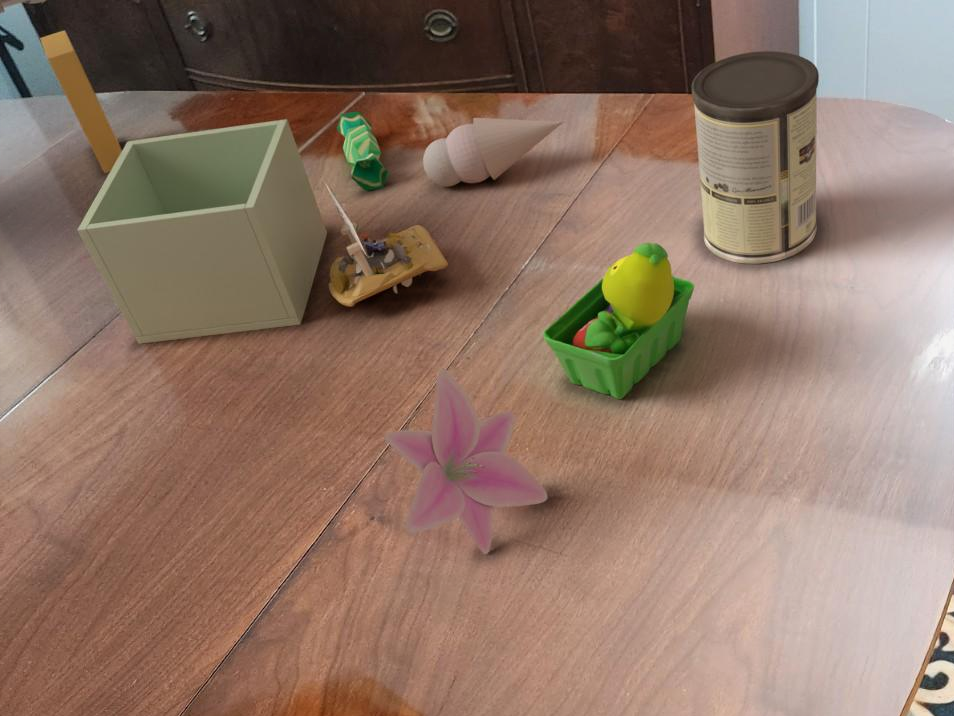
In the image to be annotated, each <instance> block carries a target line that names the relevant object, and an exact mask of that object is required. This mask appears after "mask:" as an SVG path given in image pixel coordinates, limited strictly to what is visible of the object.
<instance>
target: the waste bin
mask: <svg viewBox="0 0 954 716" xmlns="http://www.w3.org/2000/svg"><path fill="white" fill-rule="evenodd" d="M96 194H97V195H96V196H95V198H94V200H93V201H92V203H91V205H90V206H89V208H88V211H87V212H86V213H85V215H84V217H83V219H82V221H81V223H80V225H79V226H78V228H77V232H78V234H79V236H80V238H81V239H82V242H83V243H84V245H85V248H86V249H87V251H88V253H89V255H90V257H91V258H92V260H93V262H94V265H95V266H96V267H97V269H98V271H99V273H100V276H101V277H102V279H103V280H104V283H105V284H106V286H107V288H108V290H109V291H110V294H111V295H112V297H113V299H114V301H115V304H116V305H117V306H118V309H119V310H120V312H121V314H122V316H123V318H124V320H125V322H126V323H127V325H128V327H129V329H130V331H131V333H132V334H133V336H134V337H135V340H136V342H137V343H138V344H139V345H141V344H148V343H158V342H166V341H175V340H182V339H192V338H201V337H208V336H216V335H217V336H218V335H224V334H233V333H242V332H251V331H257V330H267V329H274V328H282V327H291V326H300V325H301V324H302V321H303V317H304V315H305V311H306V308H307V304H308V301H309V297H310V293H311V290H312V286H313V283H314V281H315V280H314V279H315V276H316V273H317V269H318V266H319V263H320V259H321V256H322V253H323V249H324V245H325V242H326V238H327V235H328V231H327V228H326V225H325V221H324V220H323V217H322V214H321V211H320V209H319V205H318V202H317V199H316V197H315V194H314V192H313V188H312V186H311V183H310V180H309V178H308V174H307V171H306V169H305V166H304V163H303V160H302V157H301V155H300V151H299V149H298V146H297V143H296V140H295V138H294V135H293V132H292V129H291V127H290V123H289V120H288V119H287V118H285V119H279V120H278V119H277V120H273V121H272V120H271V121H265V122H257V123H250V124H242V125H234V126H228V127H227V126H226V127H220V128H214V129H206V130H199V131H191V132H183V133H178V134H171V135H162V136H155V137H148V138H141V139H136V140H134V139H133V140H128V141H127V142H126V143H125V145H124V147H123V149H122V152H121V154H120V156H119V157H118V159H117V161H116V163H115V164H114V166H113V168H112V170H111V171H110V172H108V175H107V177H106V179H105V180H104V182H103V184H102V186H101V187H100V189H99V191H98V193H96Z"/></svg>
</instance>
